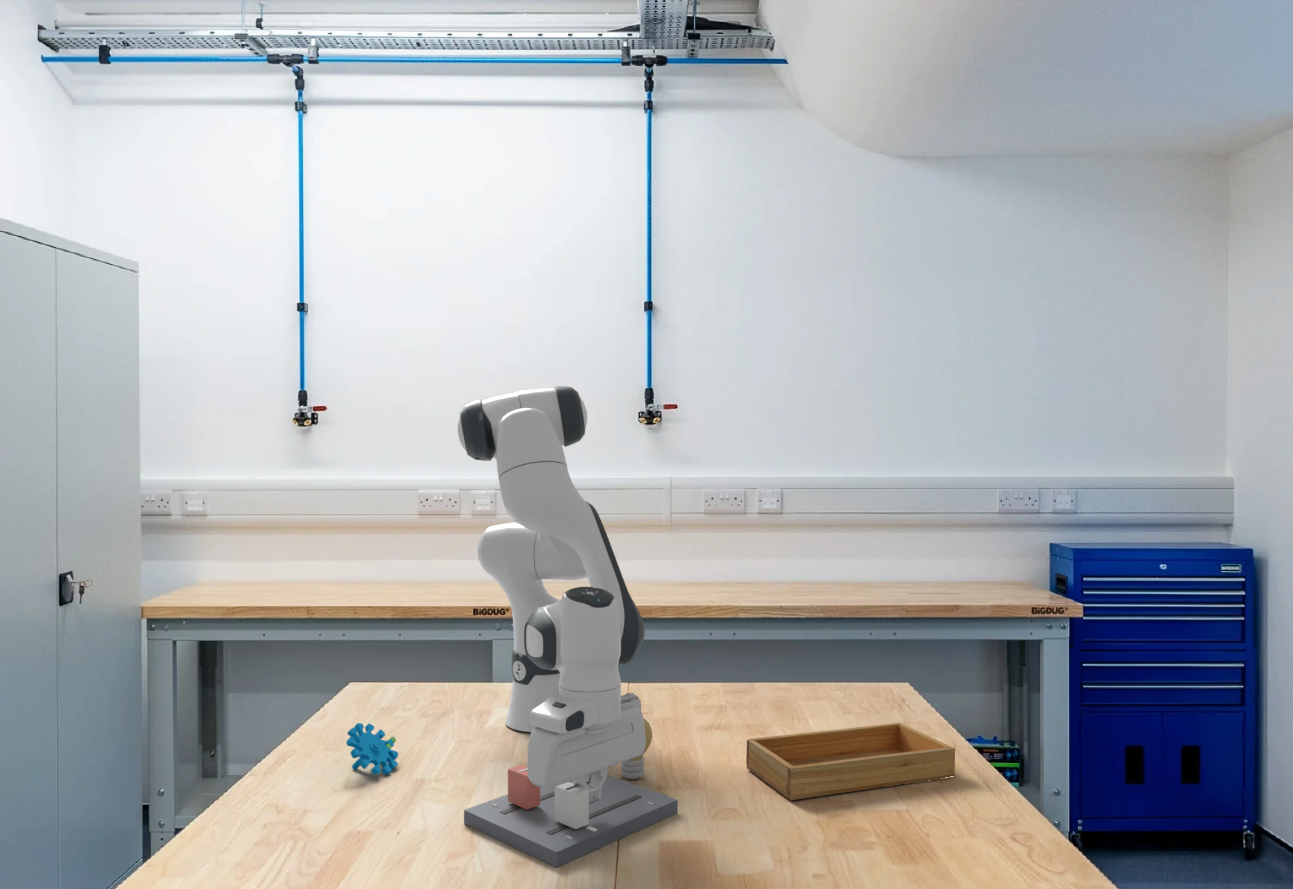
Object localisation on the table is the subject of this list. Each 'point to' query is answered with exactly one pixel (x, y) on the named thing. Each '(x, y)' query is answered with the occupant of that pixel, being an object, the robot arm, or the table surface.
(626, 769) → the light bulb
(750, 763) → the tray
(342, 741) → the table surface
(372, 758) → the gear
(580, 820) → the grey fader
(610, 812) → the console
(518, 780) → the red fader
